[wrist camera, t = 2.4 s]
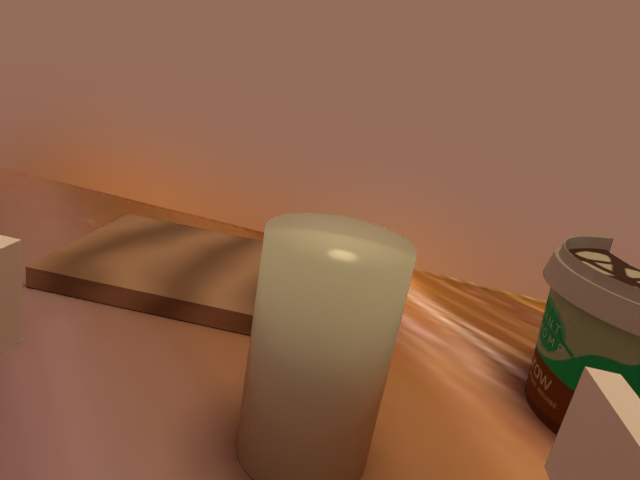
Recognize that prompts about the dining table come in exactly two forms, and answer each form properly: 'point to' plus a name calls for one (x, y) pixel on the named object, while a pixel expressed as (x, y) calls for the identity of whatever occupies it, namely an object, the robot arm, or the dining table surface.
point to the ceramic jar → (320, 345)
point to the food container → (584, 325)
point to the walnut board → (158, 271)
